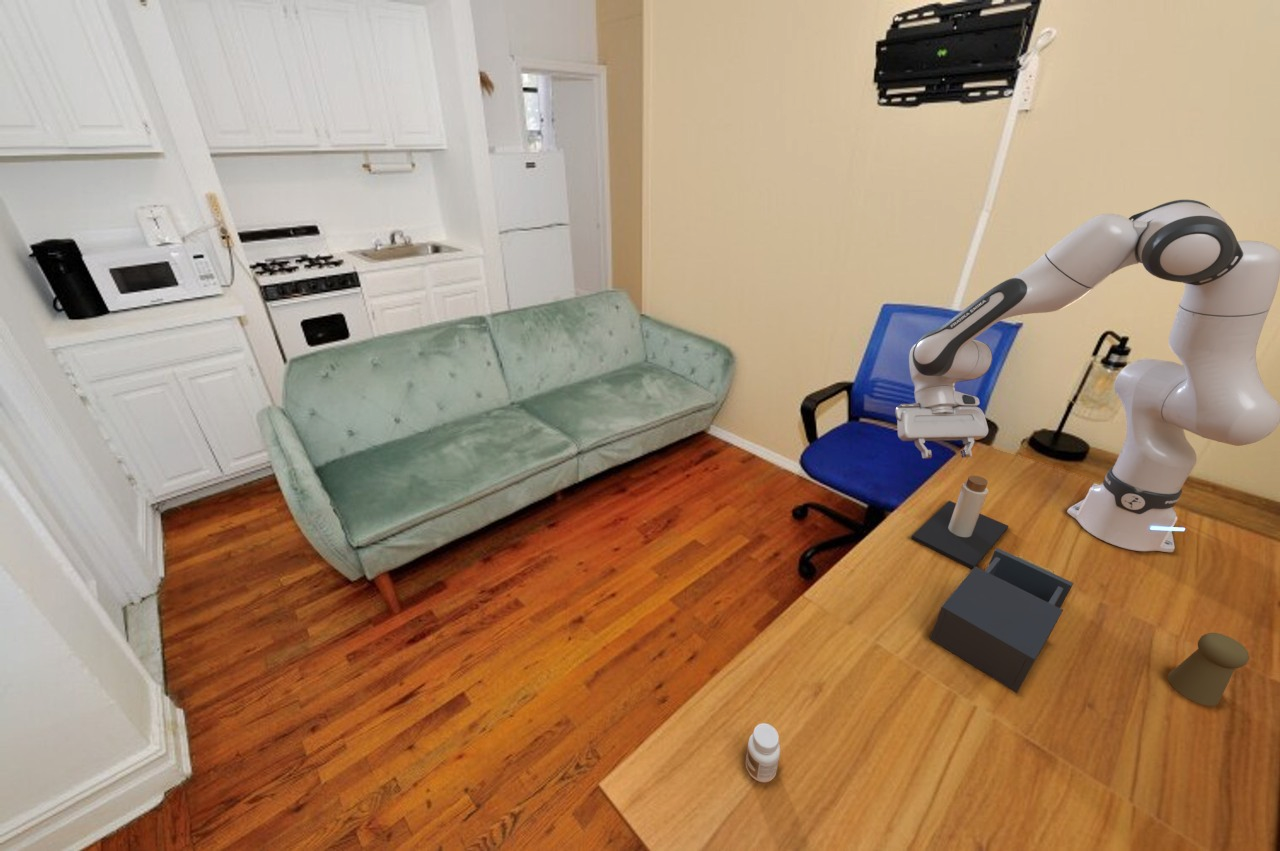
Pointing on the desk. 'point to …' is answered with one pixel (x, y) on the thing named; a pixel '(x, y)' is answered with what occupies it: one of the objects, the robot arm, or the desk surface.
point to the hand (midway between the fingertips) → (947, 457)
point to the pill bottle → (763, 753)
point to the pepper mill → (968, 506)
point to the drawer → (1029, 577)
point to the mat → (955, 546)
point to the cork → (1208, 669)
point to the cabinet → (995, 627)
